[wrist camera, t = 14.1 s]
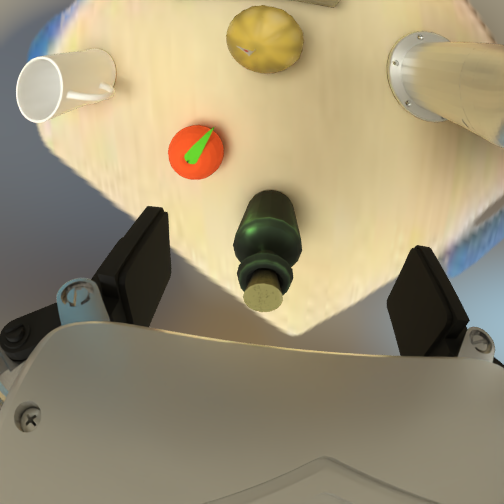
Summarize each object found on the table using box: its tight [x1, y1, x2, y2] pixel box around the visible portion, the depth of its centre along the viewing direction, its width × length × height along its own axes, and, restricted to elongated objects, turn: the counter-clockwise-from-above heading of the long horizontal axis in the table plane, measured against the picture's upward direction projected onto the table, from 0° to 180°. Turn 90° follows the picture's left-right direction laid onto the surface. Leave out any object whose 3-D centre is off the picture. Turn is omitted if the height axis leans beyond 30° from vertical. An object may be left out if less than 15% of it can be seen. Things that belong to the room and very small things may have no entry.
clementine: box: [168, 125, 224, 179], centre depth 36 cm, size 8×7×7 cm
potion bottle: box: [233, 190, 302, 312], centre depth 37 cm, size 8×8×18 cm
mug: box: [16, 49, 116, 123], centre depth 29 cm, size 12×8×12 cm
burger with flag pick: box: [226, 5, 304, 73], centre depth 26 cm, size 8×7×12 cm
